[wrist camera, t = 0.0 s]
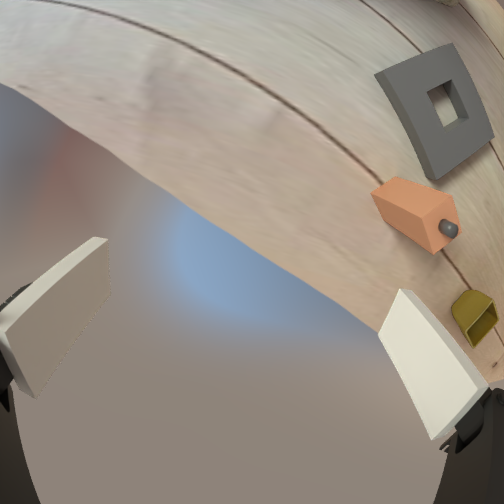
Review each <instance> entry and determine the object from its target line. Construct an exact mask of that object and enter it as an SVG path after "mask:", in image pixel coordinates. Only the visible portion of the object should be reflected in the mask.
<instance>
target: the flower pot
mask: <svg viewBox="0 0 504 504" xmlns="http://www.w3.org/2000/svg"><path fill="white" fill-rule="evenodd" d="M452 314H453V316H454V318H455V320H456V322H457V324H458V325H459V327H460V329H461V332H462V333H463V335H464V337H465V338H466V339H467V341H468V342H469V344H470V346H471V347H472V348H473V349H474V348H475V347H476V346H477V345H478V344H479V343H480V342H481V340H482V339H483V338H484V337H485V336H486V335H487V334H488V333H489V331H490V330H491V329H492V328H493V327H494V326H495V325H496V324H497V322H498V321H499V316H498V313H497V309H496V305H495V302H494V300H493V299H492V298H490V297H488V296H487V295H485V294H483V293H481V292H479V291H477V290H467V291H465V292H464V293H463V294H462V295H461V297H460V298H459V299H458V300H457V301H456V302H455V303H454V304H453V305H452Z"/></svg>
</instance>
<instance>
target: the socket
mask: <svg viewBox="0 0 504 504" xmlns="http://www.w3.org/2000/svg"><path fill="white" fill-rule="evenodd" d="M374 76H375V78H376V79H377V81H378V82H379V84H380V85H381V87H382V89H383V90H384V92H385V94H386V95H387V97H388V99H389V101H390V102H391V104H392V106H393V108H394V109H395V111H396V113H397V115H398V117H399V119H400V121H401V123H402V125H403V126H404V128H405V130H406V133H407V135H408V137H409V139H410V141H411V143H412V145H413V147H414V149H415V152H416V154H417V156H418V158H419V161H420V163H421V166H422V168H423V170H424V173H425V175H426V177H427V178H430V179H434V180H438V179H439V178H441V177H442V176H443V175H445V174H446V173H448V172H449V171H450V170H452V169H453V168H454V167H456V166H457V165H459V164H460V163H461V162H463V161H464V160H465V159H467V158H468V157H469V156H471V155H472V154H473V153H475V152H476V151H477V150H478V149H480V148H481V147H482V146H484V145H485V144H486V143H488V142H489V141H490V140H491V139H493V138H494V137H495V136H494V133H493V130H492V127H491V124H490V122H489V119H488V116H487V113H486V111H485V108H484V106H483V103H482V101H481V98H480V96H479V94H478V92H477V89H476V87H475V85H474V83H473V81H472V78H471V76H470V74H469V72H468V70H467V68H466V66H465V65H464V63H463V61H462V59H461V57H460V55H459V54H458V52H457V50H456V48H455V47H454V45H453V43H450V44H447V45H444V46H441V47H438V48H436V49H433V50H430V51H428V52H425V53H423V54H420V55H418V56H415V57H413V58H410V59H408V60H405V61H403V62H401V63H398V64H396V65H394V66H392V67H389V68H387V69H385V70H383V71H381V72H379V73H377V74H374ZM441 84H443V86H444V88H445V90H446V92H447V94H448V96H449V98H450V100H451V102H452V104H453V107H454V109H455V111H456V113H457V116H458V119H457V120H455V121H453V122H452V123H450V124H449V125H447V126H445V127H444V128H443V125H442V123H441V121H440V119H439V116H438V114H437V112H436V110H435V108H434V106H433V104H432V102H431V100H430V98H429V96H428V94H427V91H429V90H431V89H433V88H435V87H437V86H439V85H441Z"/></svg>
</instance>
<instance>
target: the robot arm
mask: <svg viewBox="0 0 504 504" xmlns="http://www.w3.org/2000/svg"><path fill="white" fill-rule="evenodd" d="M110 295H111V291H110V275H109V250H108V239H104V238H99V237H92V238H91V239H90V240H88V241H87V242H85V243H84V244H83V245H82V246H80V247H79V248H77V249H76V250H74V251H73V252H72V253H70V254H69V255H68V256H66V257H65V258H64V259H62V260H61V261H60V262H58V263H57V264H56V265H55V266H53V267H52V268H51V269H49V270H48V271H47V272H46V273H45V274H43V275H42V276H41V277H40V278H38V279H37V280H36V281H35V282H33V283H30V284H28V285H26V286H24V287H22V288H20V289H19V290H18V291H17V292H15V293H14V294H13V295H12V297H10V298H8V299H7V300H6V303H3V304H2V305H1V306H0V504H41V503H40V501H39V499H38V496H37V493H36V491H35V488H34V485H33V482H32V479H31V476H30V473H29V470H28V467H27V464H26V460H25V456H24V452H23V448H22V444H21V440H20V435H19V430H18V425H17V419H16V413H15V407H14V399H13V391H12V388H11V386H10V382H11V381H12V380H13V378H14V380H15V382H16V383H17V385H18V387H19V388H20V390H21V391H23V392H24V393H26V394H28V395H30V396H31V397H33V398H35V399H37V398H38V396H39V395H40V393H41V392H42V390H43V388H44V387H45V385H46V384H47V382H48V381H49V379H50V377H51V376H52V374H53V373H54V371H55V370H56V368H57V367H58V365H59V364H60V362H61V361H62V360H63V358H64V357H65V355H66V354H67V352H68V351H69V349H70V348H71V347H72V345H73V344H74V342H75V341H76V340H77V338H78V337H79V336H80V334H81V333H82V331H83V330H84V329H85V327H86V326H87V325H88V323H89V322H90V321H91V319H92V318H93V317H94V315H95V314H96V313H97V312H98V310H99V309H100V308H101V306H102V305H103V304H104V303H105V301H106V300H107V299H108V298H109V296H110ZM378 337H379V338H380V340H381V342H382V344H383V345H384V347H385V349H386V351H387V353H388V354H389V356H390V358H391V360H392V362H393V364H394V366H395V367H396V369H397V371H398V373H399V375H400V377H401V379H402V381H403V383H404V385H405V387H406V388H407V390H408V392H409V394H410V396H411V398H412V400H413V402H414V405H415V407H416V409H417V411H418V413H419V415H420V417H421V419H422V421H423V423H424V425H425V428H426V430H427V432H428V434H429V436H430V439H431V440H434V439H437V438H440V437H443V436H445V435H446V434H447V433H448V432H449V431H450V430H451V429H452V428H453V427H454V426H455V428H456V430H457V431H456V432H455V433H454V434H453V435H452V436H451V437H450V438H449V439H448V440H447V441H446V442H444V443H443V444H442V445H441V447H440V450H442V449H443V448H444V447H445V446H446V445H450V446H449V447H448V448H446V449H445V451H444V452H447V453H448V455H447V459H446V463H445V467H444V471H443V475H442V478H441V482H440V485H439V488H438V491H437V494H436V497H435V501H434V503H433V504H504V390H502V389H499V388H495V389H494V390H493V391H492V390H491V389H490V388H489V385H488V383H487V382H486V381H485V379H484V378H483V376H482V375H481V374H480V372H479V371H478V370H477V368H476V367H475V366H474V364H473V363H472V362H471V360H470V359H469V358H468V356H467V355H466V354H465V352H464V351H463V350H462V349H461V347H460V346H459V345H458V344H457V342H456V341H455V340H454V339H453V337H452V336H451V335H450V334H449V332H448V331H447V330H446V329H445V328H444V326H443V325H442V324H441V323H440V322H439V321H438V319H437V318H436V317H435V316H434V315H433V314H432V312H431V311H430V310H429V309H428V308H427V307H426V306H425V305H424V303H423V302H422V301H421V300H420V299H419V298H418V297H417V296H416V295H415V293H414V292H413V291H412V290H408V289H401V288H399V291H398V293H397V295H396V298H395V300H394V302H393V304H392V307H391V309H390V311H389V313H388V315H387V317H386V319H385V321H384V324H383V326H382V328H381V330H380V332H379V334H378Z"/></svg>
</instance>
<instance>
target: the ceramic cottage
mask: <svg viewBox="0 0 504 504" xmlns="http://www.w3.org/2000/svg"><path fill="white" fill-rule="evenodd" d="M435 1H437V2H439V3H442V4H445V5H447V6H450V7H455V6H456V5H457V4H458V3H459V1H460V0H435Z"/></svg>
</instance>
